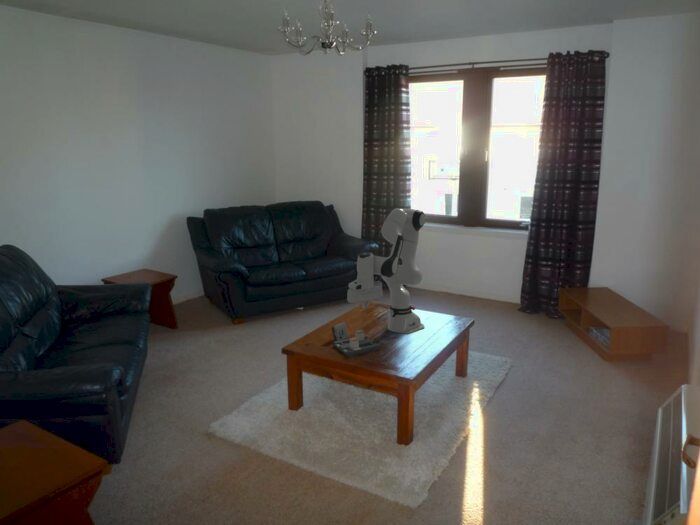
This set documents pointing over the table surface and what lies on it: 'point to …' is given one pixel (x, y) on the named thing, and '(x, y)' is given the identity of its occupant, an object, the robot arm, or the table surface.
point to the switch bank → (364, 347)
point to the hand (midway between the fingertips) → (365, 308)
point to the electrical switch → (340, 332)
